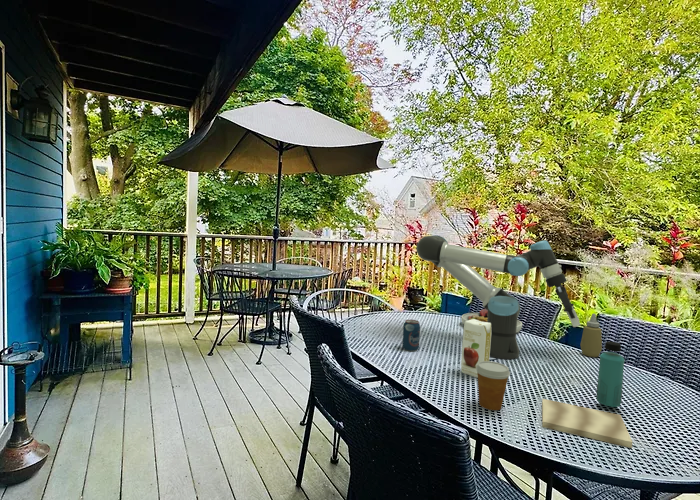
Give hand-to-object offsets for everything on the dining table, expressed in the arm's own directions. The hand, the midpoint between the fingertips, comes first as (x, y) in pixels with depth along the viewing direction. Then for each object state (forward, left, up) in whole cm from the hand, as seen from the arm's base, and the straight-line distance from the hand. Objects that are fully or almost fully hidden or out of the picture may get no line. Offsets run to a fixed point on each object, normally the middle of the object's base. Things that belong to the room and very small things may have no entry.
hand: (576, 324), depth 164 cm
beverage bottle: (+6, -46, -15) cm, 49 cm away
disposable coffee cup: (-26, -64, -15) cm, 71 cm away
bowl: (-36, +32, -15) cm, 51 cm away
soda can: (-62, -26, -15) cm, 69 cm away
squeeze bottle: (+7, +10, -15) cm, 19 cm away
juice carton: (-34, -40, -15) cm, 55 cm away
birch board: (-2, -62, -15) cm, 64 cm away
